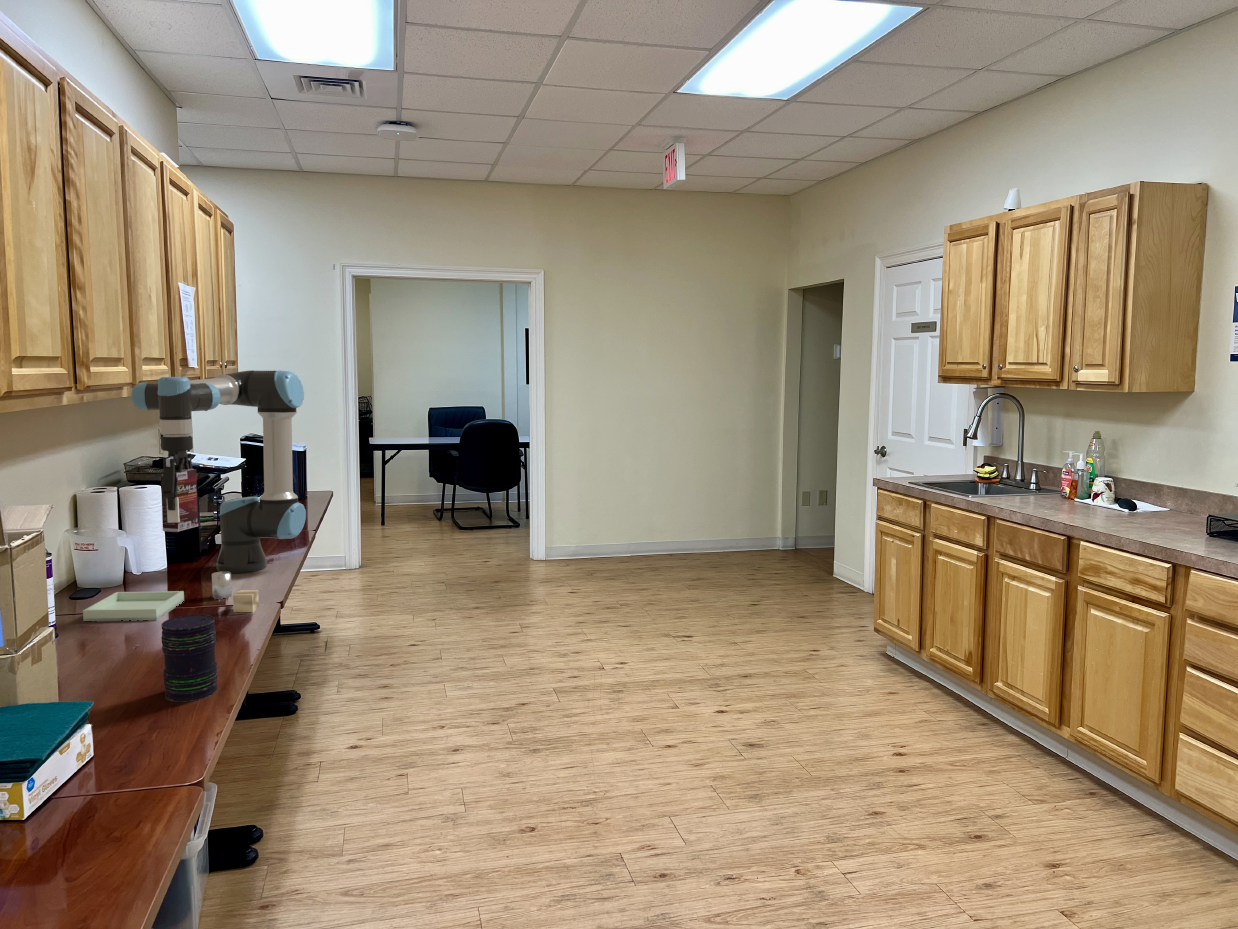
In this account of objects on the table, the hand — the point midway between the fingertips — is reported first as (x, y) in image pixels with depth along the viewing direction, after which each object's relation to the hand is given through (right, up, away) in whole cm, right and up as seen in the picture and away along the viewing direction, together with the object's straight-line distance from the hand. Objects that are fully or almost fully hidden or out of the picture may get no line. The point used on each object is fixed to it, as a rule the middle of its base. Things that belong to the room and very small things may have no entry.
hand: (180, 518), depth 228 cm
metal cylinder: (+3, -24, +17) cm, 29 cm away
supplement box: (0, -3, 0) cm, 3 cm away
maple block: (+16, -25, +4) cm, 30 cm away
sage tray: (-13, -25, +2) cm, 28 cm away
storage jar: (+30, -32, -54) cm, 70 cm away
